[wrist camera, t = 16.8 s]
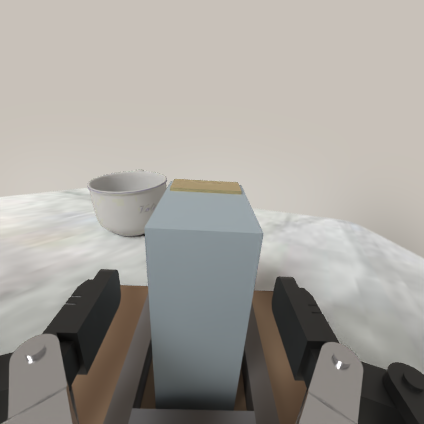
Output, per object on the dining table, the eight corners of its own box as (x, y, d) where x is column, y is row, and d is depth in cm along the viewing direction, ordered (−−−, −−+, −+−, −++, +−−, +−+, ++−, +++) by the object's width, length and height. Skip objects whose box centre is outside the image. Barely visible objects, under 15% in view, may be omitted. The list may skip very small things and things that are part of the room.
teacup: (154, 248, 31) (151, 192, 28) (78, 240, 32) (67, 184, 28) (179, 210, 43) (179, 168, 40) (125, 204, 44) (121, 163, 41)
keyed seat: (6, 521, 10) (-20, 489, 9) (120, 293, 23) (117, 266, 22) (360, 524, 11) (386, 493, 9) (277, 299, 23) (283, 273, 22)
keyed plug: (156, 411, 13) (144, 223, 8) (172, 319, 19) (170, 178, 14) (233, 413, 13) (264, 228, 9) (225, 320, 19) (241, 182, 15)
